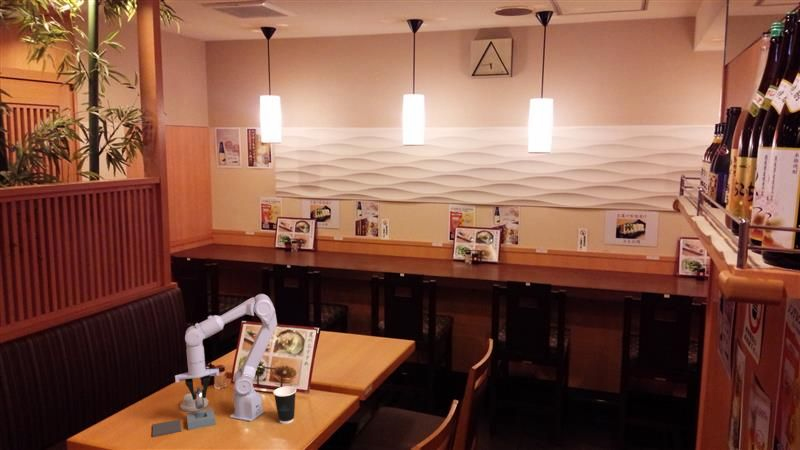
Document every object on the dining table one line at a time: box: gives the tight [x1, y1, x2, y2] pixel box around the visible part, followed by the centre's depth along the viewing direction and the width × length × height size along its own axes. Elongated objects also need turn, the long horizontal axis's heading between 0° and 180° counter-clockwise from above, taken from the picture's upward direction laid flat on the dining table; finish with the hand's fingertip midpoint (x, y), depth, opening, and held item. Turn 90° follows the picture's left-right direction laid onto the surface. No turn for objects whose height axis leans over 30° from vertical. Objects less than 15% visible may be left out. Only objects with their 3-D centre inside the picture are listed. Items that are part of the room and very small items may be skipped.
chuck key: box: [194, 385, 206, 410], centre depth 208 cm, size 3×6×7 cm, turn 22°
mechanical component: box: [179, 392, 209, 412], centre depth 223 cm, size 10×4×10 cm
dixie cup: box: [272, 386, 297, 425], centre depth 207 cm, size 8×8×11 cm
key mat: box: [152, 418, 182, 438], centre depth 205 cm, size 9×9×1 cm
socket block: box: [186, 407, 216, 431], centre depth 209 cm, size 9×9×2 cm
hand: (199, 397), depth 208 cm, fingers closed on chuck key, 3 cm apart
